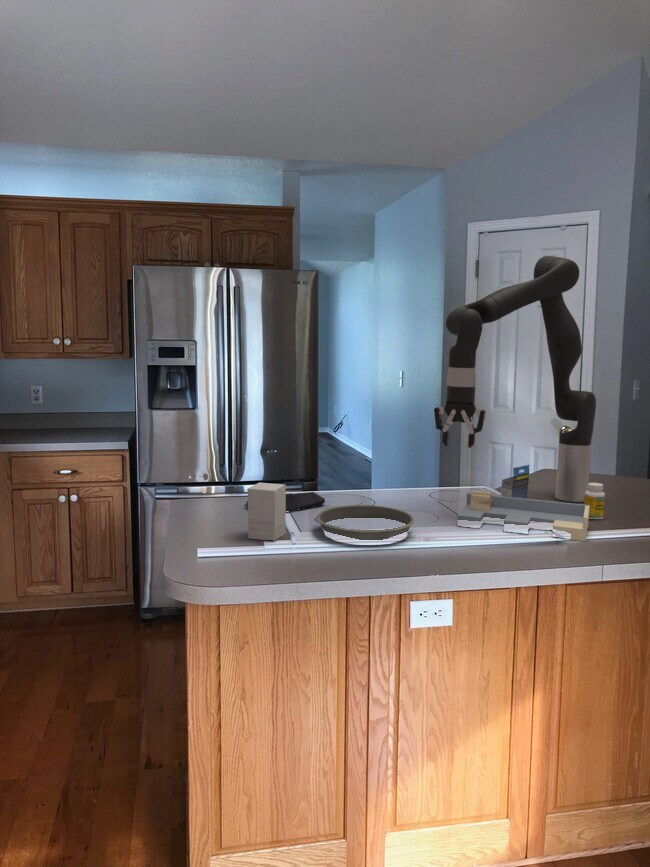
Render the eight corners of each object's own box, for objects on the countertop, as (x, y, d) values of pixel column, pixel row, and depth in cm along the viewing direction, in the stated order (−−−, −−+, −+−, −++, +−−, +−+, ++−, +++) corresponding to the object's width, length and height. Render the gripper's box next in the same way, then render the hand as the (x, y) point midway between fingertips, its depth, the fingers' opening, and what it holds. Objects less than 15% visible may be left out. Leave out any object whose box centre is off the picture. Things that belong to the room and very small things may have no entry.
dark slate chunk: (332, 509, 211) (332, 492, 210) (262, 518, 199) (262, 501, 199) (306, 497, 224) (306, 482, 223) (239, 506, 212) (239, 489, 212)
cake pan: (304, 524, 194) (304, 507, 193) (391, 518, 201) (391, 502, 201) (333, 552, 171) (334, 533, 170) (430, 544, 178) (431, 526, 177)
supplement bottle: (591, 514, 209) (593, 481, 207) (607, 518, 204) (610, 484, 203) (578, 516, 206) (581, 483, 204) (595, 521, 201) (597, 486, 200)
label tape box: (515, 502, 221) (517, 462, 219) (527, 505, 218) (530, 464, 216) (499, 507, 215) (501, 465, 213) (511, 510, 212) (514, 468, 210)
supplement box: (286, 534, 184) (287, 484, 182) (274, 542, 177) (275, 490, 175) (259, 530, 186) (259, 481, 184) (246, 538, 179) (246, 487, 177)
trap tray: (466, 513, 206) (467, 492, 206) (587, 527, 195) (589, 505, 194) (456, 526, 194) (457, 504, 193) (585, 541, 182) (587, 517, 181)
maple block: (473, 505, 204) (474, 491, 203) (491, 507, 202) (492, 493, 202) (470, 509, 199) (470, 495, 199) (488, 511, 198) (489, 496, 197)
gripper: (490, 384, 199) (487, 446, 202) (437, 382, 204) (435, 442, 207) (485, 386, 192) (482, 450, 195) (431, 384, 197) (428, 446, 200)
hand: (458, 446), depth 201 cm, fingers open, 5 cm apart
